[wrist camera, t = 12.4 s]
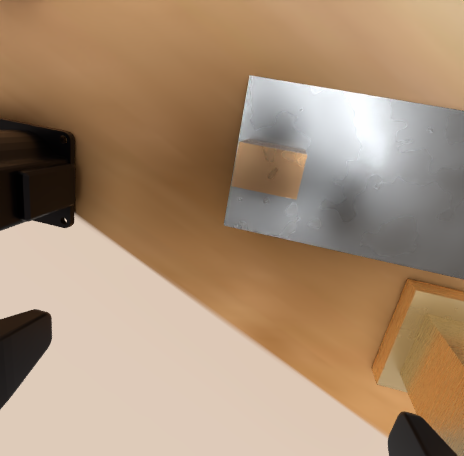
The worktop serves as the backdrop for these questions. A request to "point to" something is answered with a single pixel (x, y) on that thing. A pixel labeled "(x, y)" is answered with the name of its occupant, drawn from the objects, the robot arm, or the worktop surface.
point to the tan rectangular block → (428, 357)
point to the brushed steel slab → (351, 174)
